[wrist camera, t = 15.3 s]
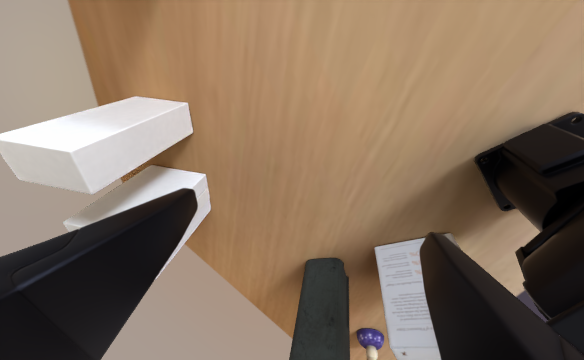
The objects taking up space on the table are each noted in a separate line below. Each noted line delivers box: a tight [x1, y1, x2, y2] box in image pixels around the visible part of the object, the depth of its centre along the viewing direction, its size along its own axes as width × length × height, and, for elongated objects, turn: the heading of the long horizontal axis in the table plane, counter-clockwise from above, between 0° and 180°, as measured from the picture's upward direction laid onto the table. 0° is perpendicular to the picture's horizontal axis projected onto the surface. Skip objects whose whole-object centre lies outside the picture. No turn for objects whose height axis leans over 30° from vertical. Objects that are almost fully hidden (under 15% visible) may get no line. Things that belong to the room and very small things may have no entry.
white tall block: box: [0, 96, 193, 194], centre depth 18 cm, size 6×3×11 cm, turn 86°
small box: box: [375, 233, 460, 360], centre depth 21 cm, size 8×6×10 cm
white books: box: [63, 165, 211, 279], centre depth 23 cm, size 7×5×10 cm
